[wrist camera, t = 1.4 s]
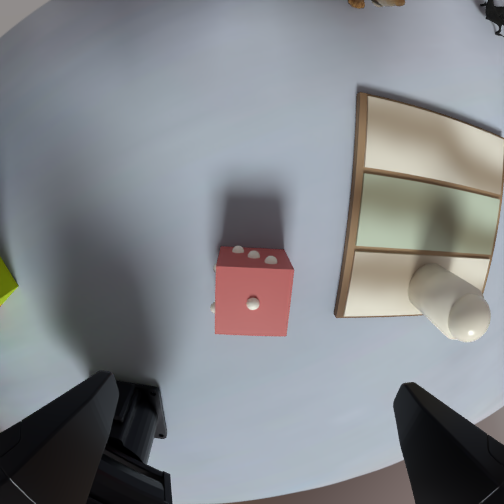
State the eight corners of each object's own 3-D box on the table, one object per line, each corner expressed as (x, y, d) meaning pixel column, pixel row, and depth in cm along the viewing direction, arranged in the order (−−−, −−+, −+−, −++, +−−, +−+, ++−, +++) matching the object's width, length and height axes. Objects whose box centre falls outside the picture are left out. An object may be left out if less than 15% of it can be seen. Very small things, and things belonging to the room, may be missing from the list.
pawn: (439, 307, 21) (490, 351, 14) (403, 309, 20) (452, 359, 14) (450, 263, 20) (509, 298, 13) (413, 261, 19) (472, 301, 13)
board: (473, 308, 22) (478, 312, 21) (333, 313, 21) (336, 319, 20) (501, 138, 18) (507, 138, 17) (356, 94, 17) (361, 91, 16)
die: (278, 305, 21) (287, 339, 17) (214, 303, 21) (208, 336, 16) (284, 243, 20) (295, 265, 15) (215, 240, 19) (208, 261, 15)
